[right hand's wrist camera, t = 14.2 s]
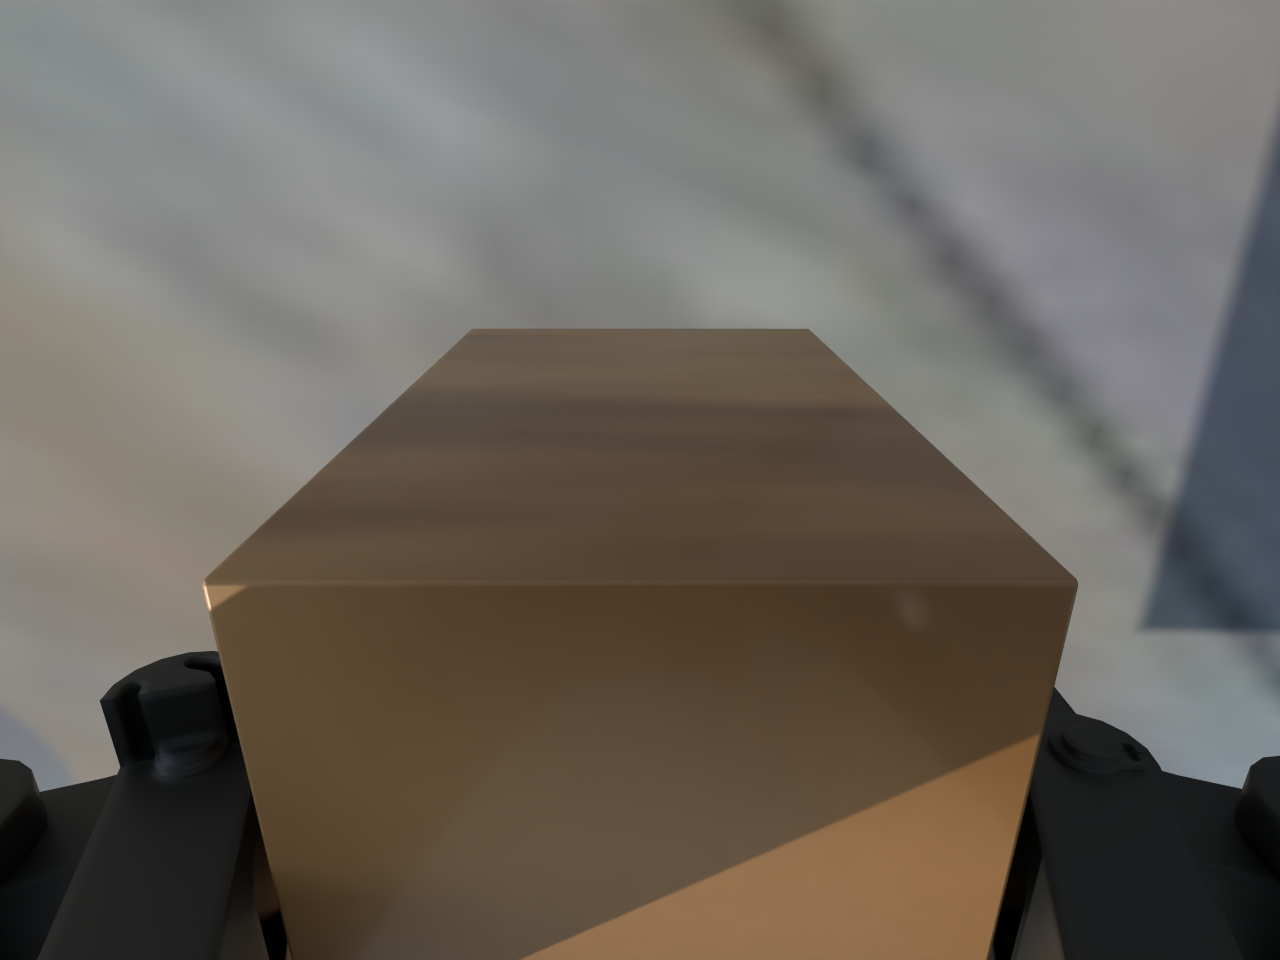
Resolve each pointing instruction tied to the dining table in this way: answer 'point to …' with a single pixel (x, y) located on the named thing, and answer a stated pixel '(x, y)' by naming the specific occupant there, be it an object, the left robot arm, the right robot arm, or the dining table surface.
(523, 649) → the box
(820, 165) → the dining table surface
